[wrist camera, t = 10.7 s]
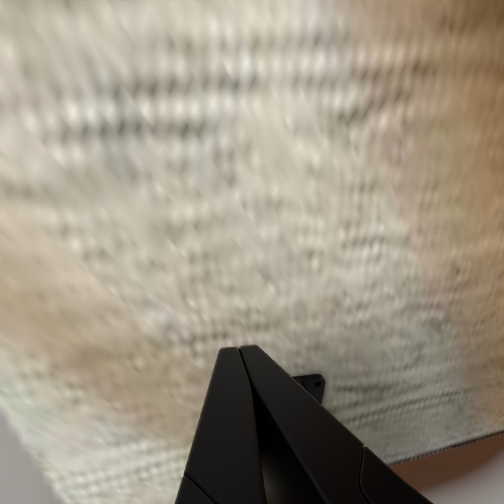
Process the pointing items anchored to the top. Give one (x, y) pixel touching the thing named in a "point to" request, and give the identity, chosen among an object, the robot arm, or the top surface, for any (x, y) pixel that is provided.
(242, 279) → the top surface
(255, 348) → the robot arm
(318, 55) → the top surface
